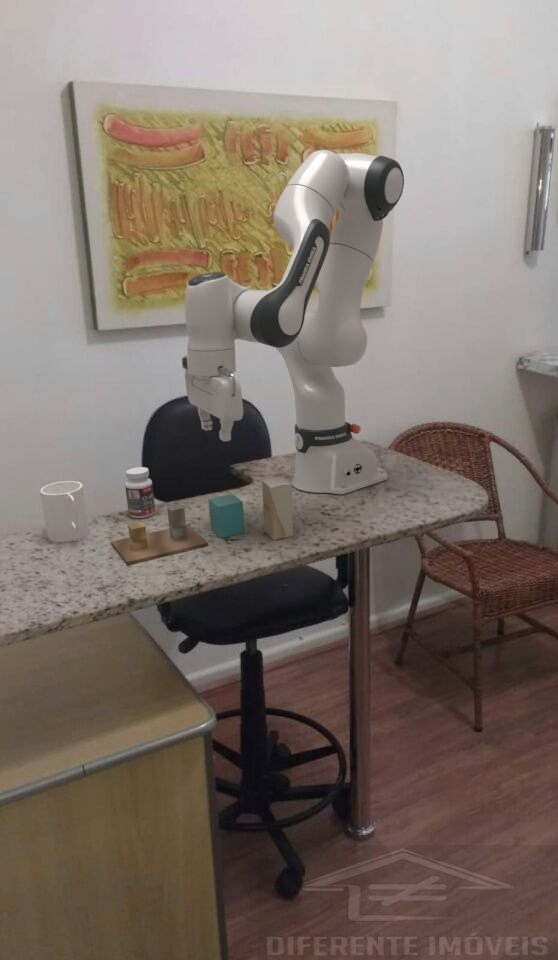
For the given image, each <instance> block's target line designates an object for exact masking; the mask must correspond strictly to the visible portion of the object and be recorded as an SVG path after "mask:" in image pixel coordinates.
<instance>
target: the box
mask: <svg viewBox="0 0 558 960" xmlns="http://www.w3.org/2000/svg"><path fill="white" fill-rule="evenodd" d="M261 486H262V488H261V489H262V507H263V510H262V511H263V529H264V532H265V533H266V534H267V536H269V537H270V538H271V540H274V541H276V540H282V539H285V538H289V537H293V536H294V528H293V527H294V526H293V525H294V523H293V522H294V521H293V494H292V492H293V491H292V490H293V489H292V482H289V481H288V480H287V479H286V478H284V477H282V476H276V477H271V478H270V477H269V478H264V479H261Z"/></svg>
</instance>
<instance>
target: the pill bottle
mask: <svg viewBox="0 0 558 960" xmlns="http://www.w3.org/2000/svg"><path fill="white" fill-rule="evenodd" d="M125 473H126V478H127V480H126V482H125V484H124V485H125V495H126V504H127V511H128V515H129V516H130V518H134V519H145V518H149V517H151V516H153V515H154V514H155V513H156V506H155V505H156V504H155V497H154V496H155V495H154V487H153V481H152V479H151V478H149V475H150V471H149V468H148V467H144V466H138V467H137V466H135V467H133V468H130V469H127V470H126V472H125Z"/></svg>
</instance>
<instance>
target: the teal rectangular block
mask: <svg viewBox="0 0 558 960" xmlns="http://www.w3.org/2000/svg"><path fill="white" fill-rule="evenodd" d="M208 509H209V510H208V511H209V521H210V531H212V532H213V533H214V534H215V535H216V536H218V538H220V539H223V538H228V537H231V536H237V535H240V534H243V533H246V529H245V513H244V501H243V500H241V499H240V498H238V497H237V496H236V495H234V494H233V493H230V494H229V493H228V494H226V495H221V496H217V497H213V498H208Z"/></svg>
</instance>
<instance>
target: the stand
mask: <svg viewBox="0 0 558 960" xmlns="http://www.w3.org/2000/svg"><path fill="white" fill-rule="evenodd" d="M166 508H167V509H166V510H167V517H168V518H167V519H168V528H166V529H161V530H157V531H152V532H148V533H147V529H146V526H145V524H144V523H143V522H142V521H140V522H139V521H138V522H135V523H130V524H128V525H127V526H128V527H127V528H128V535H129V537H126V538H122V539H117V540H112V541H111V546H112V547H113V549H115V551H116V552H117V553H118V555H119V557H121V559H122V560H123V562H124V563H125V564H126V566H130V565H134V564H138V563H143V562H146V561H149V560H154V559H157V558H163V557H166V556H170V555H171V556H172V555H174V554H179V553H183V552H188V551H192V550H195V549H199V548H203V547H208V546H209V541H207V540H206V539H205V538H204V537H203V536H202V535H200V534H199V533H198V532H197V531H196V530H195V529H194V528H193V527H192V526H191V525H190V524H188V523H187V522H186V514H185V513H186V511H185V507H184V506H183V505H181V504H180V503H176V504H172V505H169V506H168V505H167V506H166Z"/></svg>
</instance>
